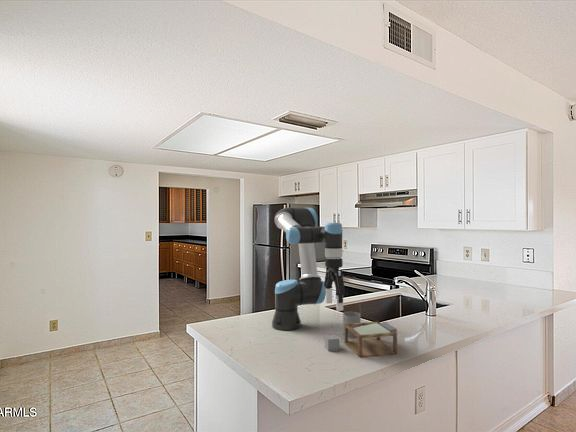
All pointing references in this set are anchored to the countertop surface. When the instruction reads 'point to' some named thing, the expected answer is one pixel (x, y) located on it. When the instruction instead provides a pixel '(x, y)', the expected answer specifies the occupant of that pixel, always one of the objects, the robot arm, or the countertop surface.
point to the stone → (332, 343)
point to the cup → (351, 321)
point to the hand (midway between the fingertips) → (334, 306)
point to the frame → (369, 342)
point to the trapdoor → (375, 329)
